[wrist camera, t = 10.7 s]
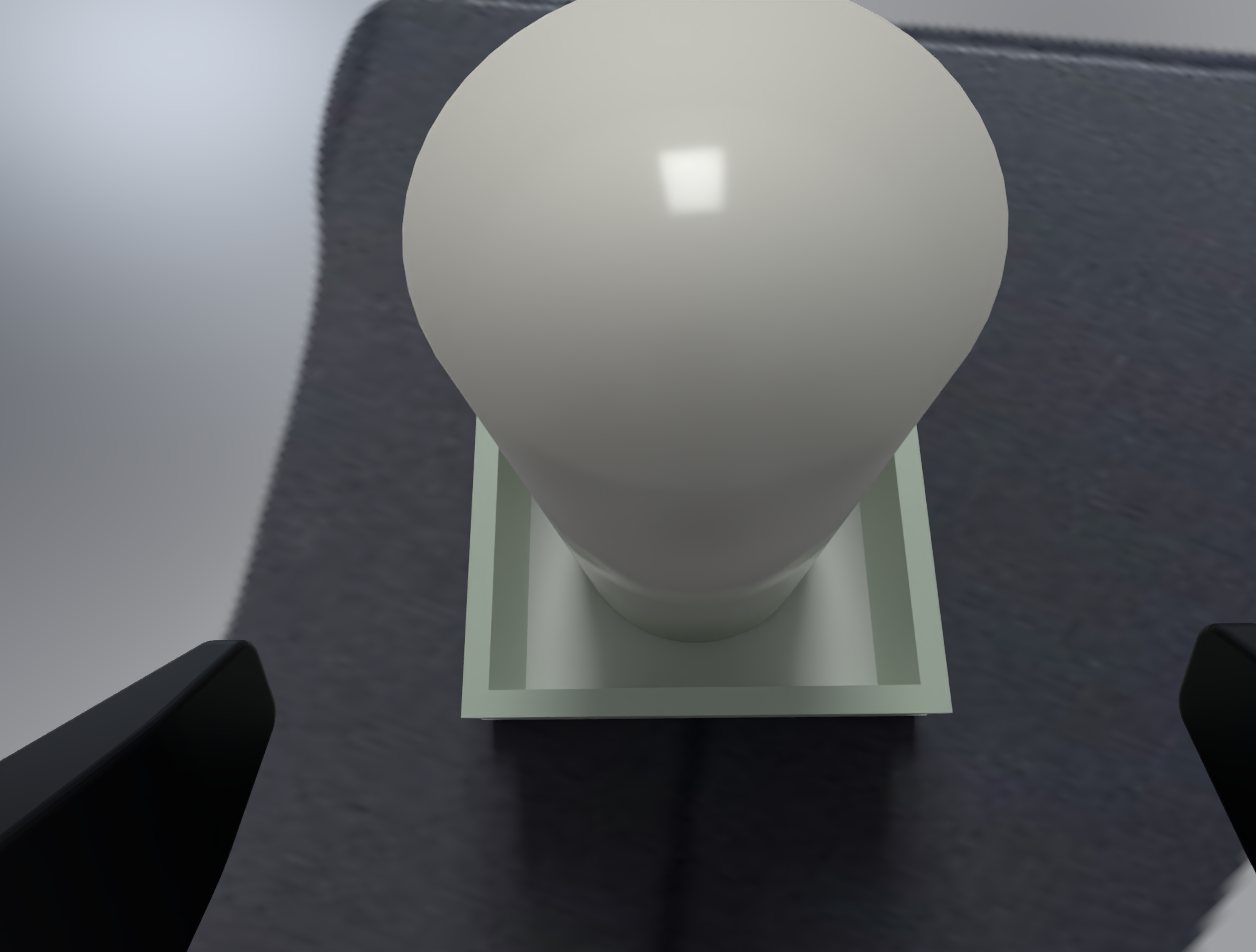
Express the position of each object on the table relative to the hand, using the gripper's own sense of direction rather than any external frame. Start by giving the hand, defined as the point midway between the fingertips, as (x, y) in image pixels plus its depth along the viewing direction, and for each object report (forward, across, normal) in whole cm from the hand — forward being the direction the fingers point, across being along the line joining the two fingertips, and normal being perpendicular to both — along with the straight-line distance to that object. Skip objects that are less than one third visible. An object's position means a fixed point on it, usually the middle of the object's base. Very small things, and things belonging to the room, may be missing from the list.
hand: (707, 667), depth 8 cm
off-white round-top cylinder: (+11, 0, +5) cm, 12 cm away
